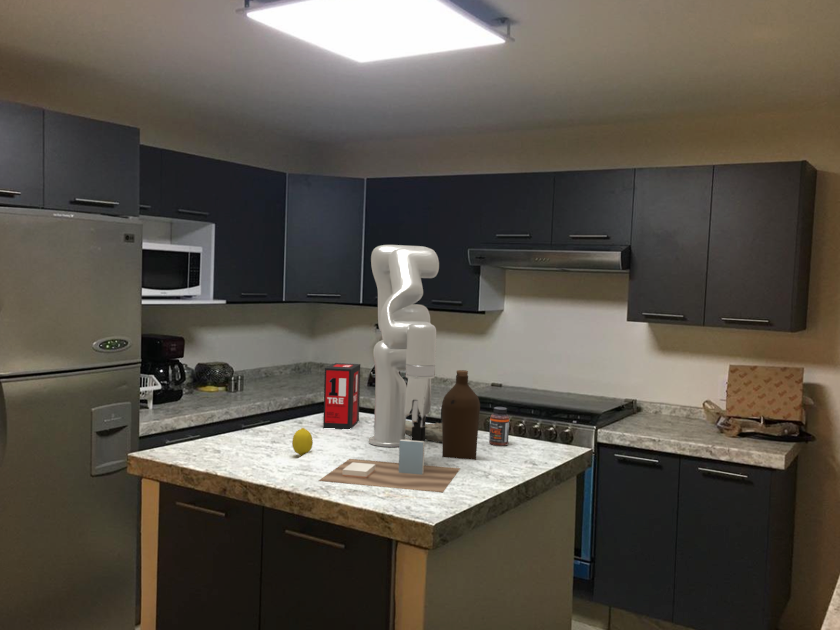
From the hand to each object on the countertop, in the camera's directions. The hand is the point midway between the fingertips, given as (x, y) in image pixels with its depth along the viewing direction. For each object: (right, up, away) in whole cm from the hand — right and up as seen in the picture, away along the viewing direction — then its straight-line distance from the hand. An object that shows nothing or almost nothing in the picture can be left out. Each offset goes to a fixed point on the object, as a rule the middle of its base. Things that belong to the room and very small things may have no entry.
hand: (418, 442), depth 198 cm
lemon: (-32, -7, +14) cm, 36 cm away
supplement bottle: (+25, -7, +39) cm, 47 cm away
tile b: (-2, -7, -6) cm, 9 cm away
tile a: (-14, -5, -5) cm, 15 cm away
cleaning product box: (-26, -5, +63) cm, 68 cm away
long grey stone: (+1, -6, +50) cm, 50 cm away
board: (-6, -8, -8) cm, 13 cm away
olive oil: (+11, -8, +16) cm, 21 cm away
